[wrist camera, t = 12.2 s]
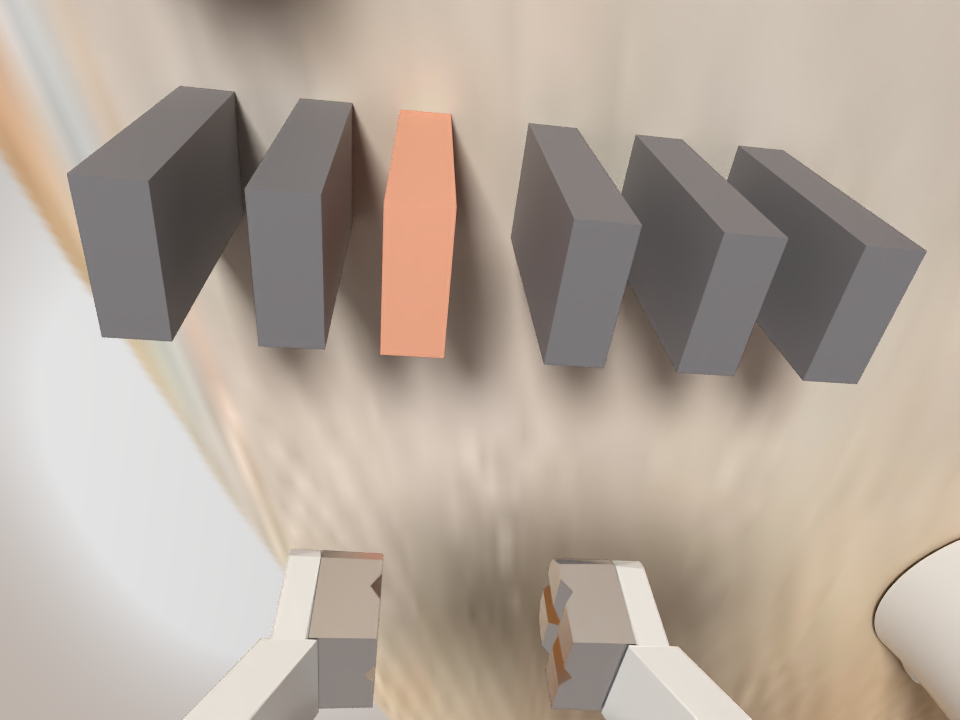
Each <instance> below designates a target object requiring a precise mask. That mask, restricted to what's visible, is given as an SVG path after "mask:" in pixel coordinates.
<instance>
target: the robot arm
mask: <svg viewBox="0 0 960 720" xmlns="http://www.w3.org/2000/svg"><path fill="white" fill-rule="evenodd" d="M382 566H383V554H379V553H362V552H346V551H329V550H306V549H291V551H290V553H289V556H288V558H287V563H286V567H285V572H284V577H283V581H282V586H281V590H280V595H279V600H278V604H277V609H276V614H275V618H274V623H273V627H272V632H271V637H270V638H264V639H263V638H262V639H260V640H259V641H258V642H257V643H256V644H255V645H254V646H253V647H252V648H251V649H250V650H249V651H248V652H247V653H246V654H245V655H244V656H243V657H242V658H241V659H240V661H238V663H237V664H236V665H235V666H234V667H233V668H232V669H231V670H230V671H229V672H228V673H227V674H226V675H225V676H224V677H223V678H222V679H221V680H220V681H219V682H218V683H217V684H216V685H215V686H214V688H212V690H211V691H210V692H209V693H208V694H207V695H206V696H205V697H204V698H203V699H202V700H201V701H200V702H199V703H198V704H197V705H196V706H195V707H194V708H193V709H192V710H191V711H190V712H189V713H188V715H186V717H185V718H184V719H183V720H313V719H314V718H315V717H316V715H317V714H318V711H319V710H318V709H321V708H367V707H369V708H370V707H372V706H373V694H374V681H375V668H376V655H377V639H378V627H379V613H380V598H381V582H382ZM548 577H549V583H550V585H549V586H547V587H546V588H545V589H543V593H542V597H541V601H540V613H539V625H540V636H541V643H542V646H543V648H544V649H545V650H546V651H547V652H548V653H549V654H550V657H549V660H548V664H547V667H546V677H547V683H548V689H549V696H550V702H551V708H552V709H570V710H598V711H602V712H601V714H602V715H603V717H604V718H605V719H606V720H752V719H751V718H750V717H749V716H748V715H747V714H746V713H745V712H744V711H743V710H742V709H741V708H740V707H739V706H738V705H737V704H736V703H735V702H734V701H733V700H732V699H731V698H730V697H729V696H728V695H727V694H726V693H725V692H724V691H723V690H722V689H721V688H720V687H719V686H718V685H717V684H716V683H715V682H714V681H713V680H712V679H711V678H710V677H709V676H708V675H707V674H706V673H705V672H704V671H703V670H702V669H701V668H700V667H699V666H698V665H697V664H696V663H695V662H694V661H693V660H691V659H690V658H689V657H688V656H687V655H686V654H685V653H684V652H683V651H682V650H681V649H680V648H679V647H678V646H670V645H669V642H668V639H667V636H666V633H665V630H664V627H663V624H662V621H661V618H660V615H659V612H658V608H657V605H656V602H655V599H654V596H653V593H652V590H651V587H650V584H649V581H648V578H647V575H646V572H645V569H644V566H643V565H642V564H641V563H640V561H619V560H610V561H609V560H606V559H556V558H554V559H553V560H552V562H551V563H550V567H549V570H548ZM874 625H875V631H876V634H877V636H878V638H879V639H880V640H881V642H882V643H883V644H884V645H885V646H887V647H888V648H889V649H890V650H891V651H892V652H893V653H894V654H895V655H896V656H897V657H898V658H899V659H900V661H901V662H902V665H903V668H904V669H905V671H906V672H907V673H908V675H909V676H910V677H911V679H912V680H913V681H914V682H916V683H918V684H921V685H922V686H923V687H924V688H925V690H926V691H927V692H928V693H929V694H930V696H931V697H932V698H933V700H934V701H935V702H936V703H937V705H938V706H939V707H940V709H941V710H942V711H943V712H944V714H945V715H946V716H947V718H948V719H949V720H960V540H958V541H956V542H954V543H952V544H950V545H948V546H946V547H944V548H942V549H940V550H938V551H936V552H934V553H933V554H931V555H929V556H928V557H926V558H925V559H923V560H922V561H920V562H919V563H917V564H916V565H915V566H913V567H912V568H911V569H909V570H908V571H907V572H906V573H905V574H903V575H902V576H901V577H900V578H899V579H898V580H897V581H896V582H895V583H894V584H893V585H892V586H891V588H890V589H889V590H888V591H887V593H886V594H885V595H884V597H883V599H882V600H881V602H880V604H879V606H878V608H877V611H876V614H875V621H874Z"/></svg>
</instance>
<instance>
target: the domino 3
mask: <svg viewBox="0 0 960 720" xmlns="http://www.w3.org/2000/svg"><path fill="white" fill-rule="evenodd" d="M456 210H457V205H456V189H455V173H454V157H453V141H452V125H451V114H441V113H430V112H419V111H407V110H400V115H399V120H398V126H397V131H396V137H395V143H394V148H393V154H392V159H391V165H390V170H389V176H388V182H387V187H386V193H385V198H384V216H383V258H382V301H381V343H380V355H397V356H416V357H434V358H444V351H445V339H446V327H447V315H448V304H449V292H450V280H451V268H452V257H453V245H454V233H455V221H456Z"/></svg>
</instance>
